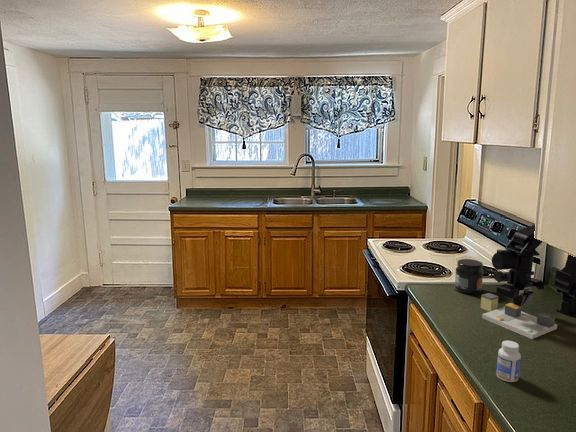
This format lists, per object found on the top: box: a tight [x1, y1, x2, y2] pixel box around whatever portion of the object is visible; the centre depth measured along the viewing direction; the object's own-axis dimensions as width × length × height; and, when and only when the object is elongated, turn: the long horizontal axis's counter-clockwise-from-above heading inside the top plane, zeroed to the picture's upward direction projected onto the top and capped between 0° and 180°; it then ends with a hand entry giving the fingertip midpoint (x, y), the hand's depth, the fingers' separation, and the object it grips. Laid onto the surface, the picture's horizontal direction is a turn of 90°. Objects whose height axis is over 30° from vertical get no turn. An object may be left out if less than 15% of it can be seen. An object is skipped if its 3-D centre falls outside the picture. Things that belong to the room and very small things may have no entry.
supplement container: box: [453, 258, 484, 295], centre depth 178 cm, size 10×10×12 cm
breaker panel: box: [481, 306, 558, 340], centre depth 149 cm, size 14×18×2 cm
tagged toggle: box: [504, 302, 522, 318], centre depth 151 cm, size 3×4×3 cm
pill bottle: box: [496, 339, 522, 383], centre depth 116 cm, size 5×5×10 cm
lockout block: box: [480, 292, 499, 312], centre depth 161 cm, size 4×4×5 cm
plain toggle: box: [536, 311, 556, 327], centre depth 144 cm, size 3×4×3 cm
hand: (517, 310), depth 153 cm, fingers closed
